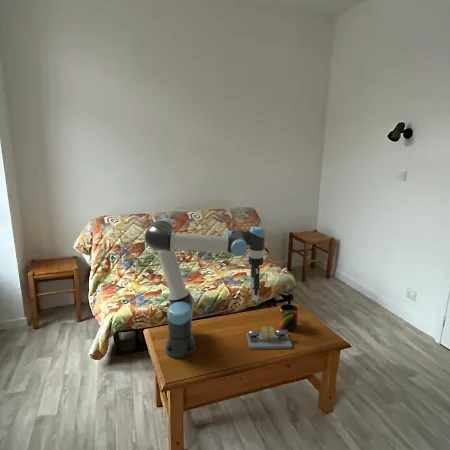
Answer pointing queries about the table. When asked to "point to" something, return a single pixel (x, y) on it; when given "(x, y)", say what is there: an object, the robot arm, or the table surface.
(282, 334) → the shaft right
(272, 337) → the tan rectangular block
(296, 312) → the patterned mug
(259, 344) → the base plate
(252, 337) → the shaft left
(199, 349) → the table surface
